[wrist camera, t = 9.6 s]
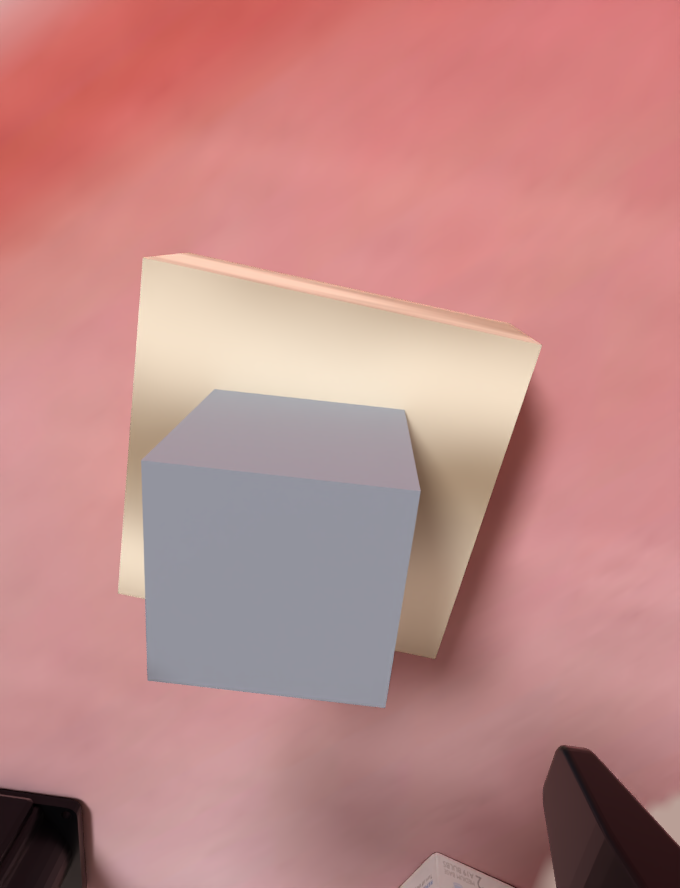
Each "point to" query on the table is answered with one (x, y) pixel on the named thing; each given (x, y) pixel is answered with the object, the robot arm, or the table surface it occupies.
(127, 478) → the flat wooden block
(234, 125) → the table surface
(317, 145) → the table surface
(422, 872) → the light bulb box
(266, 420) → the slate cube
